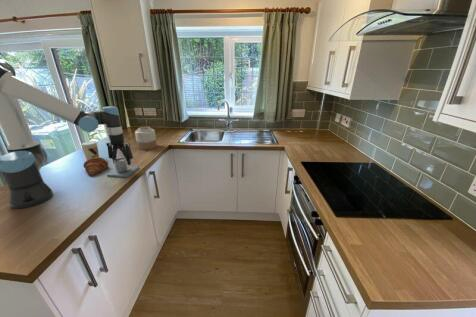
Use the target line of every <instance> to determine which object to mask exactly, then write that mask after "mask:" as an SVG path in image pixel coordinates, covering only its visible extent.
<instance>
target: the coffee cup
mask: <svg viewBox="0 0 476 317" xmlns="http://www.w3.org/2000/svg"><path fill="white" fill-rule="evenodd" d="M80 146H81V149H82V151H83V154H84V157H85V159H86V161H87V160H89V159H92V158H100V156H99V149H98V143H97V142H96V141H93V140H91V141H85V142H82V143H80Z"/></svg>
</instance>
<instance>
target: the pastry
mask: <svg viewBox="0 0 476 317" xmlns="http://www.w3.org/2000/svg"><path fill="white" fill-rule="evenodd" d="M83 168H84V169H85V171H86V173H87V174H88V175H89V176H92V177H94V176H96V175H98V174H100V173H101V172H102V171H105V170H106V169H108V168H109V163H108V161H107V160H106V159H104V158H102V157H99V158H92V159H89V160H87V159H86V161H84V163H83Z"/></svg>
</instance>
